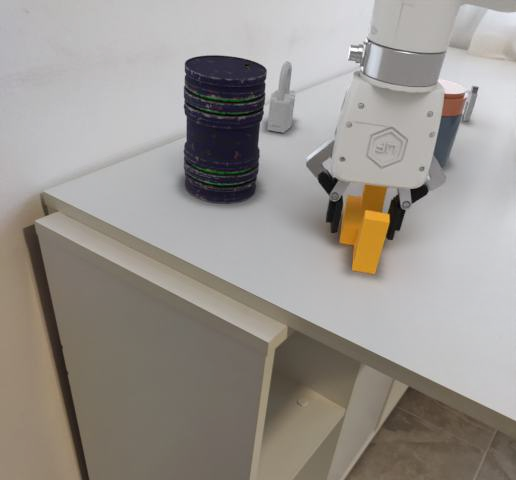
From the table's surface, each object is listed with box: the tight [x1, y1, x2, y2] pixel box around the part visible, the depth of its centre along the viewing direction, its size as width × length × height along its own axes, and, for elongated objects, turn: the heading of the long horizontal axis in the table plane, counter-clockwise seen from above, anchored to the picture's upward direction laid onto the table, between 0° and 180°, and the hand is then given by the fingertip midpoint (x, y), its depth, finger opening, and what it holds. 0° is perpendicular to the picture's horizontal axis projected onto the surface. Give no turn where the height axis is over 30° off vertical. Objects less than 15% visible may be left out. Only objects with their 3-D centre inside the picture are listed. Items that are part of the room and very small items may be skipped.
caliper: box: [461, 85, 480, 122], centre depth 108 cm, size 20×1×6 cm, turn 171°
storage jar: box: [183, 54, 268, 204], centre depth 68 cm, size 10×10×15 cm
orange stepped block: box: [338, 184, 390, 275], centre depth 62 cm, size 12×4×6 cm, turn 170°
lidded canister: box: [433, 78, 468, 169], centre depth 83 cm, size 9×9×11 cm
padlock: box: [266, 61, 296, 134], centre depth 89 cm, size 7×4×10 cm, turn 166°
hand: (360, 229), depth 63 cm, fingers open, 5 cm apart
